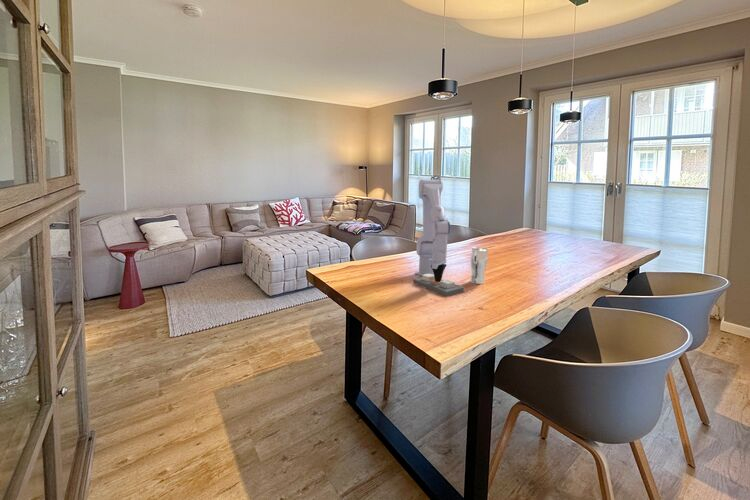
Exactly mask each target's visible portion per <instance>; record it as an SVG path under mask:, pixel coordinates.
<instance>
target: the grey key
mask: <svg viewBox="0 0 750 500" xmlns="http://www.w3.org/2000/svg"><path fill="white" fill-rule="evenodd" d="M443 280H444V279H443ZM455 284H456V283H455V281H453V280H449V279H445V280H444V281H441V285H440V286H441V287H444V288H446V289H449V288H454V287H455Z"/></svg>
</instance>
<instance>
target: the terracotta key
mask: <svg viewBox="0 0 750 500" xmlns="http://www.w3.org/2000/svg"><path fill="white" fill-rule="evenodd" d="M442 280H443V279H442ZM442 280H441V281H442ZM441 281H440V282H436V281H435V280H432V281H431V283H433V284H436V285H441Z"/></svg>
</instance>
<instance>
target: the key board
mask: <svg viewBox="0 0 750 500" xmlns="http://www.w3.org/2000/svg"><path fill="white" fill-rule="evenodd" d="M441 280H442V281H444V279H441ZM412 283H413V284H414V285H416V286H418V287H421V288H424V289H426V290H429V291H432V292H434V293H436V294H439V295H442V296H444V297H450V296H454V295H458V294H461V293H464V292H465V287H464V286H461V285H459V284H457V283H455V287H454V288H449V289H446V288H444V287H441V286H440V285H436V284H433V283H431V281H430V282H427V281H425V280H422V276H420V277H416V278H413V279H412Z"/></svg>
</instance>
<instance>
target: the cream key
mask: <svg viewBox="0 0 750 500" xmlns="http://www.w3.org/2000/svg"><path fill="white" fill-rule="evenodd" d="M421 277H422V280H425V281H427V282H430V281H432V280H435V278H434V275H432V274H424V275H422V276H421Z"/></svg>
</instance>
